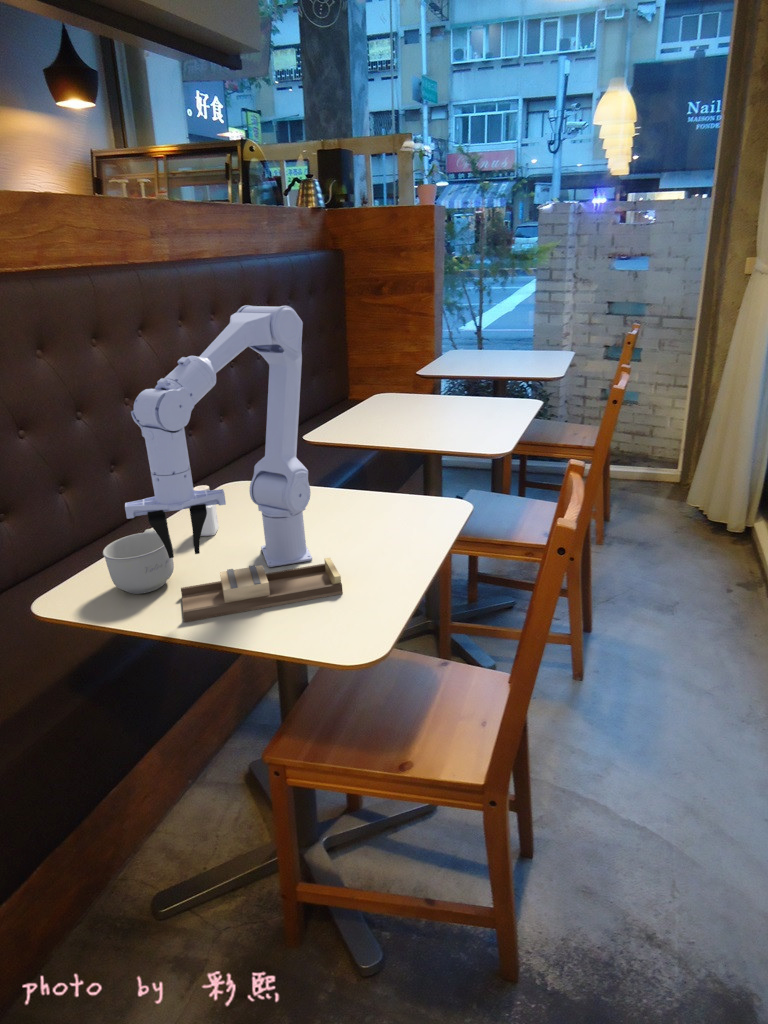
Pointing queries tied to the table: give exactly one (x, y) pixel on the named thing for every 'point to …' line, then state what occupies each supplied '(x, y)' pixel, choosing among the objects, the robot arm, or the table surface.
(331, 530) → the table surface
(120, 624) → the table surface
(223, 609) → the bay
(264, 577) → the banded tan block
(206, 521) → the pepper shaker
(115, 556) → the teacup
